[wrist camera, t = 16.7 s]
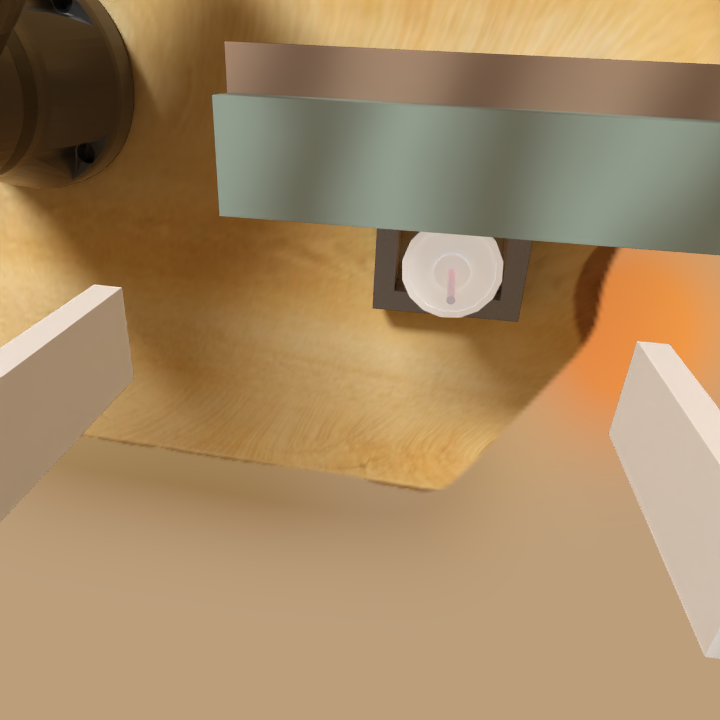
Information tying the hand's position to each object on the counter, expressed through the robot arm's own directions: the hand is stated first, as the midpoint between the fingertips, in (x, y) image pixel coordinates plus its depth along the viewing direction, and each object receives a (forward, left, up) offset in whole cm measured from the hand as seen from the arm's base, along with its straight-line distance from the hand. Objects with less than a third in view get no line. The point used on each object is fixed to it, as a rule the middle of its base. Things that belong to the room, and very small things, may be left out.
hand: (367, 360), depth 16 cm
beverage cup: (+3, -4, -31) cm, 31 cm away
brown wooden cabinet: (+3, +4, -30) cm, 31 cm away
